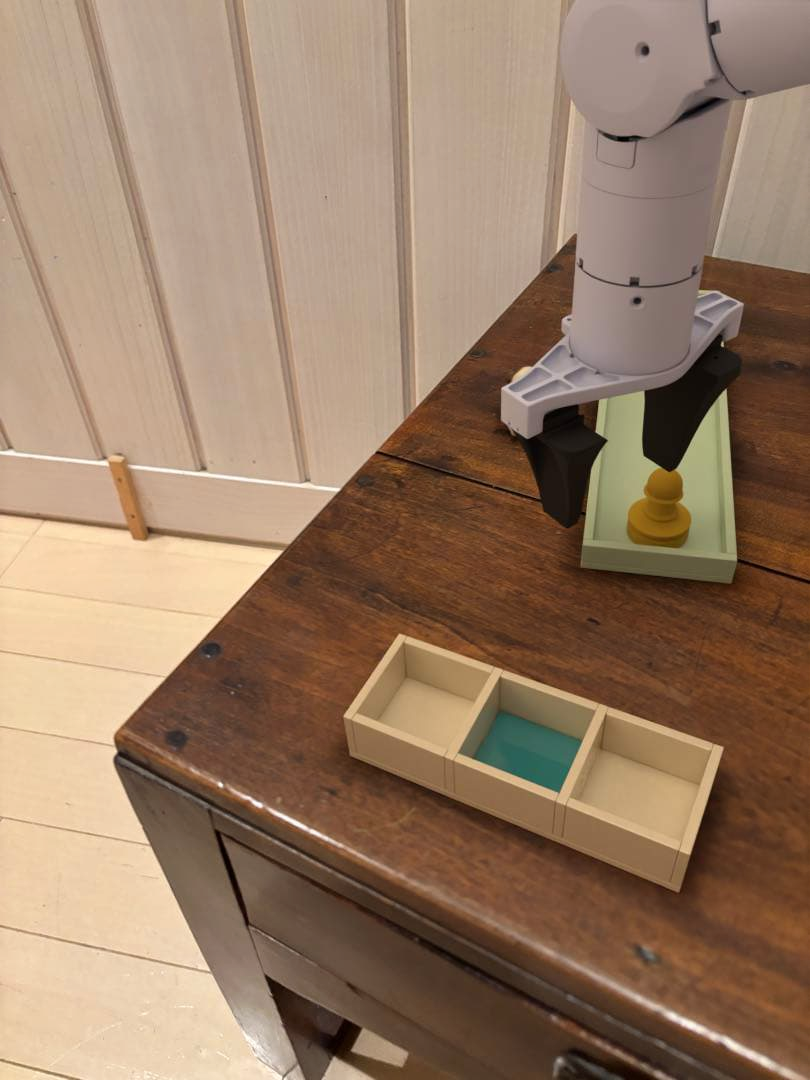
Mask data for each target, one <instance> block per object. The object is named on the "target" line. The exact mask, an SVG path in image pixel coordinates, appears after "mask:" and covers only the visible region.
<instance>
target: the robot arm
mask: <svg viewBox="0 0 810 1080" xmlns="http://www.w3.org/2000/svg"><path fill="white" fill-rule="evenodd" d="M559 52H560V53H559V54H560V67H561V68H560V69H561V73H562V78H563V82H564V85H565V88H566V91H567V93H568V95H569V98H570V99H571V101H572V103H573V105H574V107H575V108H576V110H577V111H578V112H579V113H580V115H581V116H582V117H583V118H584V130H583V131H584V132H583V148H582V161H581V162H582V163H581V176H580V188H579V189H580V190H579V203H578V204H579V205H578V217H577V218H578V219H577V231H576V232H577V234H576V245H575V246H576V247H575V263H574V278H573V288H572V289H573V292H572V303H571V304H572V306H571V314H569V315H566V316H565V317H563V318H562V319H561V328H560V329H561V330H560V332H561V333H562V334H563V335H564V336H563V337H562V338H561V339H560V340H559V341H558V342H557V343H556V344H555V345H554V346H553V347H552V348H551V349H550V350H548V352H547V353H545V354H544V355H543V356H542V357H541V358H540V359H539V360H538V361H537V362H536V363H535V364H534V365H533V366H532V368H531V369H530V370H529V371H528V372H526V373H525V374H524V375H523V376H522V377H520V378H519V379H517V380H515V381H514V382H512V383H510V384H508V383H507V384H506V385H504V386H502V387H501V391H500V393H501V394H500V398H501V399H500V421H501V422H502V423H503V424H504V425H506V426H507V425H508V426H509V427H510V428H511V429H512V431H513V432H514V434H515V435H516V436H515V437H516V439H517V440H518V442H519V444H520V446H521V448H522V449H523V452H524V453H525V455H526V458H527V460H528V463H529V465H530V468H531V471H532V474H533V476H534V479H535V483H536V486H537V489H538V493H539V498H540V502H541V507H542V511H543V512H544V513H545V514H546V515H548V516H549V517H550V518H551V519H552V520H554V521H556V522H557V523H558V524H560V526H562V527H563V528H564V529H570V528H571V527H574V526H576V525H577V524H578V522H579V520H580V518H581V515H582V512H583V508H584V503H585V497H586V496H585V495H586V489H587V484H588V481H589V478H590V475H591V469H592V466H593V464H594V462H595V460H596V458H597V456H598V454H599V452H600V451H601V449H602V448H603V447H604V445H605V444H606V442H607V441H608V440H607V439H605V438H604V437H602V436H601V435H599V434H598V433H596V430H593V429H592V428H590V427H589V426H587V425H586V424H585V415H584V414H579V412H580V404H581V405H582V404H586V403H590V402H595V401H599V400H601V399H605V398H610V397H615V396H620V395H625V394H630V393H635V392H640V391H644V397H645V403H644V418H643V430H642V448H643V456H644V457H646V458H647V459H649V460H651V461H652V462H654V463H655V464H657V465H658V466H660V467H661V468H663V469H665V470H666V471H668V472H671V471H673V470H675V469H677V467H678V466H679V464H680V462H681V460H682V459H683V457H684V455H685V453H686V451H687V449H688V447H689V445H690V443H691V441H692V439H693V437H694V435H695V433H696V431H697V430H698V428H699V426H700V424H701V422H702V420H703V419H704V417H705V416H706V414H707V413H708V411H709V409H710V408H711V407H712V405H713V404H714V403H715V401H716V400H717V399H718V397H719V396H720V395H721V394H722V393H723V391H724V390H725V389H726V388H727V389H728V387H729V386H731V384H732V383H733V382H734V381H736V379H737V378H738V377H739V376H740V375H741V371H742V366H743V358H742V357H741V356H740V354H737V353H736V352H734V351H732V350H730V349H729V348H726V347H725V346H724V347H722V346H721V343H722V341H723V342H724V343H725V342H728V341H730V340H732V339H734V338H737V337H738V335H739V332H740V331H739V330H740V326H741V320H742V316H743V311H744V306H745V303H743V302H741V301H740V300H737V299H735V298H732V297H730V296H728V295H726V294H724V293H722V292H721V291H720V292H721V293H720V292H717V291H718V290H711V291H712V292H709V293H707V294H704V295H701V296H698V292H699V290H700V285H701V280H702V276H703V275H702V273H703V268H704V260H705V253H706V248H707V242H708V238H709V232H710V225H711V219H712V213H713V209H714V208H713V207H714V201H715V196H716V189H717V183H718V177H719V172H720V167H721V161H722V154H723V147H724V142H725V136H726V131H727V130H728V125H729V119H730V115H731V109H732V105H733V102H734V101H746V100H747V101H748V100H751V99H754V98H758V97H762V96H766V95H770V94H775V93H779V92H782V91H786V90H790V89H795V88H799V87H802V86H803V87H804V86H805V85H807V86H808V85H810V0H574V2H573V4H572V5H571V7H570V9H569V11H568V13H567V16H566V18H565V22H564V24H563V29H562V33H561V38H560V51H559ZM508 426H507V427H508Z"/></svg>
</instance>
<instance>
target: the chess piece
mask: <svg viewBox="0 0 810 1080" xmlns="http://www.w3.org/2000/svg"><path fill="white" fill-rule="evenodd" d="M682 488H683V480H682V477H681V475H680V474H679V473H678V472H677V471H676V470H673V471H671V472H668V471H666V470H665V469H663V468H659V469H656V470H655V471H654V472H652V474H651V475H650V476H649V478H648V482H647V484H646V485H645V487H644V494H645V496H646V497H647V498H643V499H640V500H638V501H636V502H635V503H634V504H633V505H632V506H631V507H630V509H629V512H628V522H627V529H626V530H627V534H628V536H629V538H630V539H631V541H632V542H634V543H635V544H638V545H648V546H658V547H668V548H680V547H681V546H682V545H684V543H685V542H686V540H687V538H688V533H689V527H690V524H691V515H690V513H689V511H688V510H687V509H686V507H685V506H683V505H682V504H681V503H679V501H680V500H681V499H682V498H683V494H684V493H683V490H682Z"/></svg>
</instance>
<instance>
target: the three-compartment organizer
mask: <svg viewBox="0 0 810 1080" xmlns="http://www.w3.org/2000/svg"><path fill="white" fill-rule="evenodd" d="M342 717H343V718H342V719H343V723H344V724H343V725H344V729H345V730H344V731H345V734H346V735H345V736H346V741H347V747H348V750H349V752H348V753H349V756H350V757H351V758H354V759H356V760H359V761H360V762H361V761H362V762H364V763H366V764H367V765H371V766H373V767H376V768H378V769H380V770H382V771H385V772H388V773H390V774H392V775H395V776H396V777H400V778H402V779H405V780H406V781H410V782H412V783H414V784H417V785H418V786H421V787H423V788H426V789H428V790H431V791H432V792H436V793H438V794H441V795H443V796H445V797H447V798H450V799H452V800H455V801H457V802H459V803H461V804H465V805H467V806H469V807H472V808H474V809H477V810H479V811H481V812H483V813H486V814H488V815H490V816H493V817H496V818H498V819H501V820H503V821H505V822H507V823H510V824H512V825H515V826H517V827H520V828H522V829H524V830H527V831H529V832H531V833H534V834H536V835H539V836H541V837H543V838H546V839H549V840H551V841H553V842H556V843H558V844H561V845H562V846H565V847H568V848H570V849H572V850H575V851H577V852H580V853H582V854H585V855H587V856H588V857H592V858H594V859H597V860H599V861H600V862H603V863H606V864H608V865H611V866H613V867H615V868H618V869H621V870H623V871H625V872H628V873H629V874H632V875H634V876H637V877H639V878H642V879H644V880H646V881H649V882H651V883H654V884H656V885H658V886H661V887H664V888H666V889H668V890H670V891H673V892H675V893H680V892H681V888H682V886H683V882H684V879H685V876H686V872H687V869H688V866H689V863H690V860H691V856H692V853H693V850H694V848H695V844H696V841H697V838H698V834H699V831H700V828H701V825H702V821H703V819H704V815H705V812H706V809H707V807H708V803H709V799H710V796H711V793H712V790H713V787H714V784H715V779H716V777H717V773H718V770H719V766H720V764H721V760H722V757H723V752H724V750H725V747H724V746H722V745H718V744H717V743H713V742H710V741H708V740H705V739H702V738H699V737H696V736H693V735H691V734H688V733H685V732H682V731H680V730H676V729H674V728H670V727H668V726H665V725H661V724H659V723H656V722H654V721H650V720H648V719H645V718H642V717H640V716H636V715H634V714H631V713H628V712H626V711H623V710H619V709H617V708H615V707H614V708H613V707H611V706H607V705H605V704H602V703H599V702H596V701H594V700H591V699H588V698H584V697H582V696H579V695H576V694H574V693H571V692H568V691H565V690H562V689H559V688H556V687H553V686H551V685H548V684H545V683H543V682H540V681H536V680H533V679H530V678H528V677H525V676H521V675H520V674H516V673H513V672H511V671H508V670H505V669H502V668H500V667H497V666H494V665H491V664H489V663H485V662H482V661H479V660H476V659H474V658H472V657H468V656H465V655H462V654H459V653H457V652H455V651H451V650H448V649H445V648H443V647H440V646H437V645H433V644H431V643H429V642H425V641H423V640H420V639H417V638H414V637H411V636H407V635H406V634H402V633H398V635H397V636H396V637H395V639H394V641H393V642H392V643H391V645H390V647H389V648H388V649H387V651H386V653H385V654H384V655H383V657H382V658H381V660H380V661H379V662H378V664H377V666H376V667H375V669H374V670H373V672H372V673H371V675H370V676H369V678H368V679H367V680H366V682H365V683H364V685H363V686H362V688H361V689H360V691H359V692H358V694H357V695H356V697H355V698H354V700H353V701H352V703H351V704H350V706H348V708H347V709H346V711H345V713H344V714H343V716H342Z"/></svg>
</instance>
